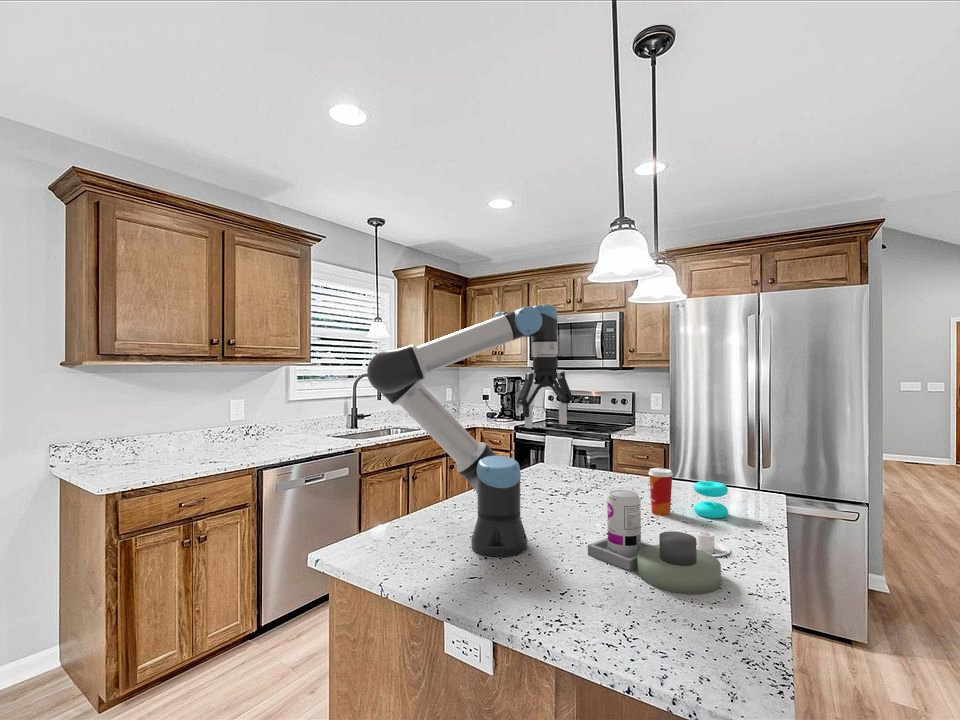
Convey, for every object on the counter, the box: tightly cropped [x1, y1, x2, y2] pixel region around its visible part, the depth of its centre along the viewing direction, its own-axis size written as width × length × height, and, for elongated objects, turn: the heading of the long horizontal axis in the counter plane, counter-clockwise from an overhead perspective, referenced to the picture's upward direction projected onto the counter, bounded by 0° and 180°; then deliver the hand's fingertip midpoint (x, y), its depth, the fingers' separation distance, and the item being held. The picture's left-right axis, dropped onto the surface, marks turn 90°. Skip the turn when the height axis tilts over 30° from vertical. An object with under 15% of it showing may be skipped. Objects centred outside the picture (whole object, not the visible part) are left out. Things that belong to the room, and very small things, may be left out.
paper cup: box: [647, 467, 674, 516], centre depth 163 cm, size 8×8×14 cm
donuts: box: [693, 480, 729, 519], centre depth 161 cm, size 10×10×10 cm
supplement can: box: [606, 489, 642, 557], centre depth 128 cm, size 8×8×15 cm
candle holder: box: [696, 530, 731, 557], centre depth 133 cm, size 12×12×4 cm
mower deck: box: [587, 530, 722, 595], centre depth 121 cm, size 18×30×9 cm, turn 37°
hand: (546, 426), depth 152 cm, fingers open, 13 cm apart
